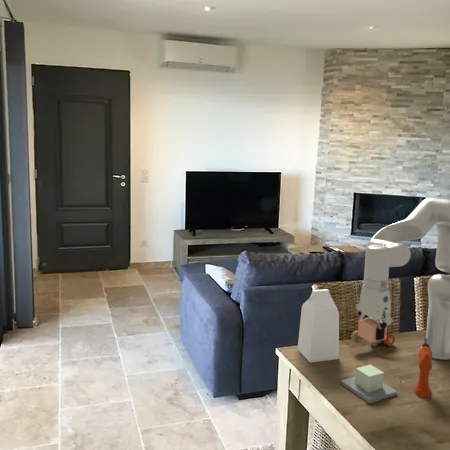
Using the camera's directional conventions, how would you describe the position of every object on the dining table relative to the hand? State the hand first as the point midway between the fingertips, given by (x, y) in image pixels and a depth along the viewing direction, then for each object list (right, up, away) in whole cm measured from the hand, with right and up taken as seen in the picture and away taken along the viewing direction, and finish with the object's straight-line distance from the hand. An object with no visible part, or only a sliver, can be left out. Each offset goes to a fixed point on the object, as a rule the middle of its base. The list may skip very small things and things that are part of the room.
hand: (372, 334), depth 164 cm
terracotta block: (0, -1, 0) cm, 1 cm away
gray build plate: (0, -19, +4) cm, 19 cm away
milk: (-12, -14, +30) cm, 35 cm away
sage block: (0, -18, +3) cm, 18 cm away
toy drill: (+19, -19, +6) cm, 28 cm away
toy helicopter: (+11, -13, +37) cm, 41 cm away
